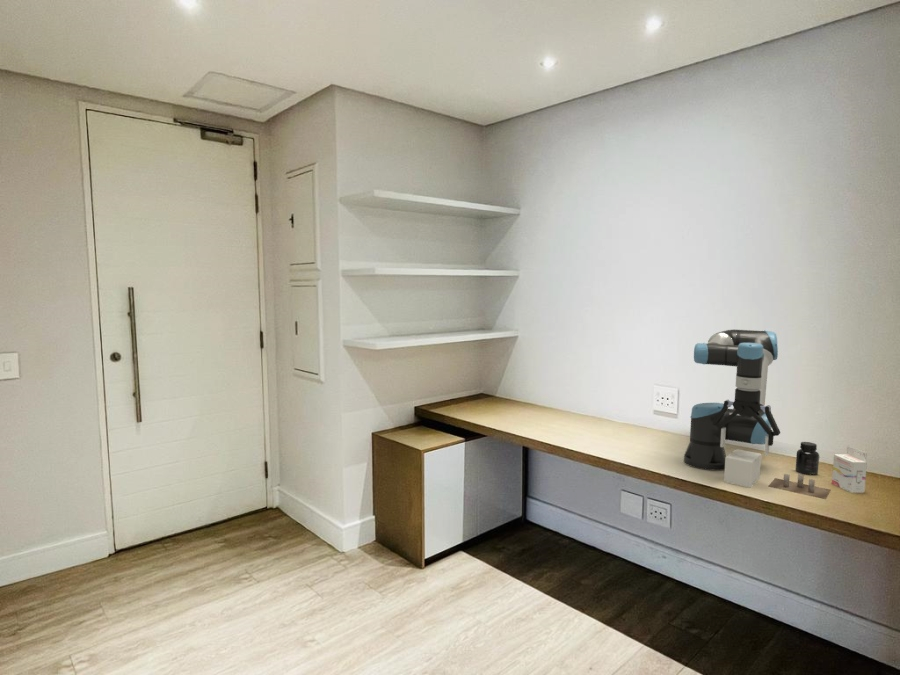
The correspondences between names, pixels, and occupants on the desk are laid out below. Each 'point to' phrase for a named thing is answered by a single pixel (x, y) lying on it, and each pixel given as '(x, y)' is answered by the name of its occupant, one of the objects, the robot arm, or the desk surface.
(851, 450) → the ink cartridge box
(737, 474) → the block
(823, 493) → the pin board
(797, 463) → the supplement bottle
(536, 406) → the desk surface
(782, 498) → the desk surface
